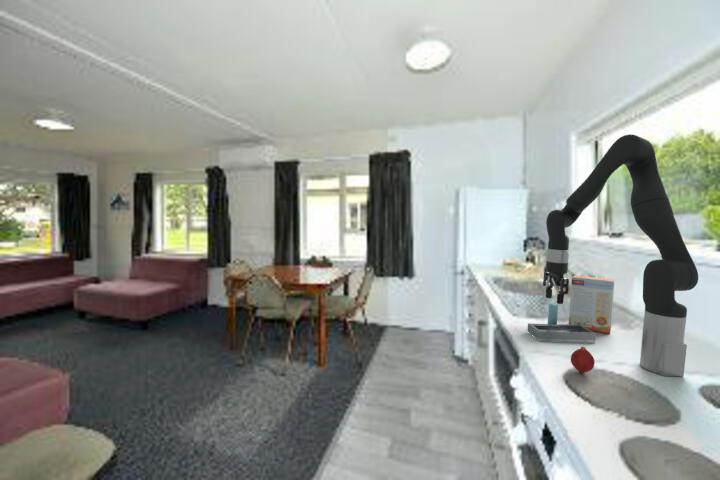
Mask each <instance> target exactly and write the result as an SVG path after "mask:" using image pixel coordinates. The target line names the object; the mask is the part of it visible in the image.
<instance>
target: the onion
mask: <svg viewBox="0 0 720 480" xmlns="http://www.w3.org/2000/svg"><path fill="white" fill-rule="evenodd" d="M595 361H596V360H595V358H594V356H593V354H592V353H591V352H590V351H589V350H588V349H587V348H586V347H585V346H581V347H580V348H578V349H576V350H574V351H573V352H572V353H571V355H570V363H571V364H572V366H573V368H574V369H575V370H577V371H578V373H580V372H582V373H581V374H586V373H589V372H590V371H592V369H594V367H595ZM585 372H586V373H585Z"/></svg>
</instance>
